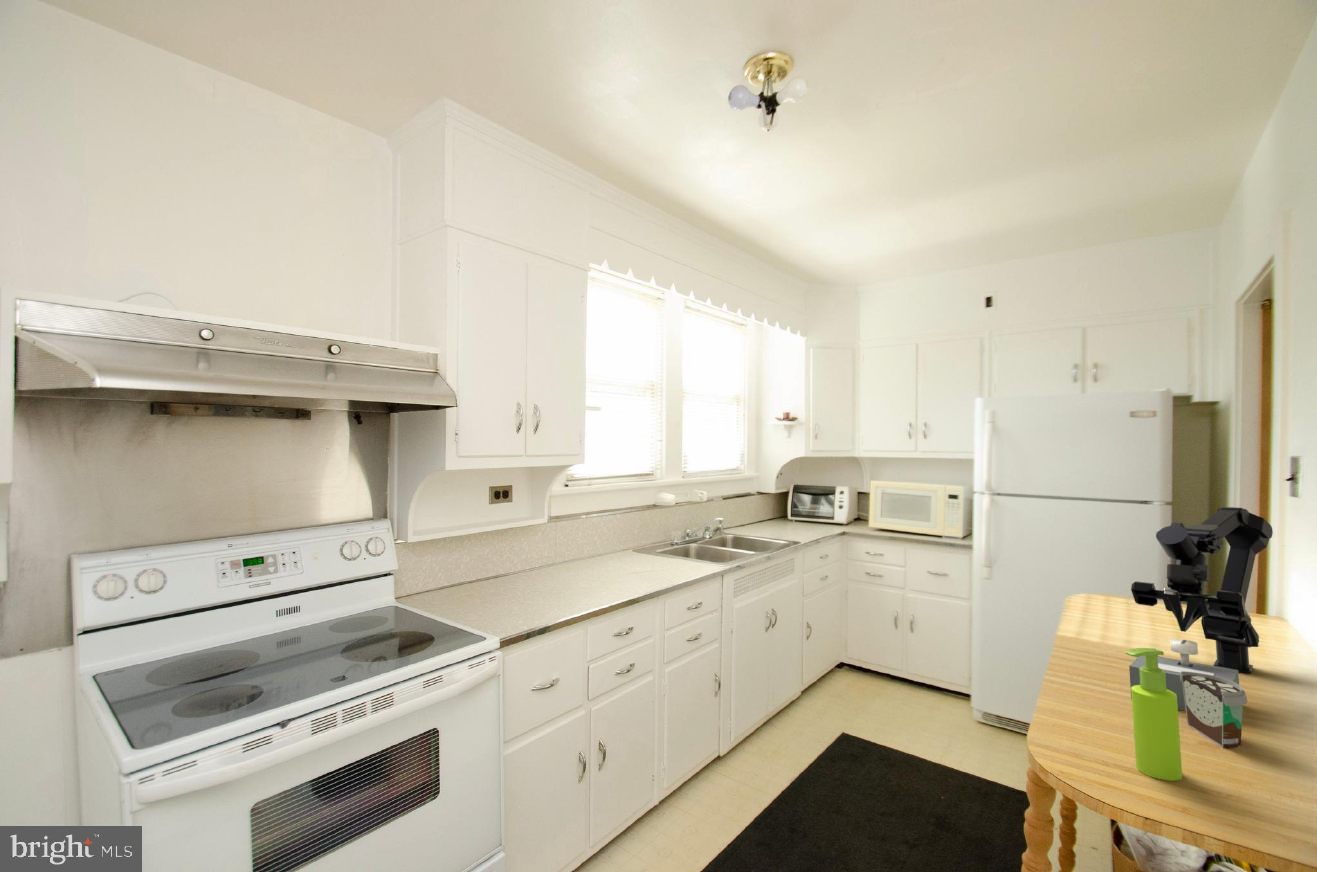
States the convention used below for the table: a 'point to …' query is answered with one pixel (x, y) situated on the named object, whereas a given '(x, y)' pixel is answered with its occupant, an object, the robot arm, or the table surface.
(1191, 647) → the knob
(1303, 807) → the table surface
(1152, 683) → the soap dispenser
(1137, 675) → the console
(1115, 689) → the table surface
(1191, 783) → the table surface
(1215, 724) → the food container
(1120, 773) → the table surface
